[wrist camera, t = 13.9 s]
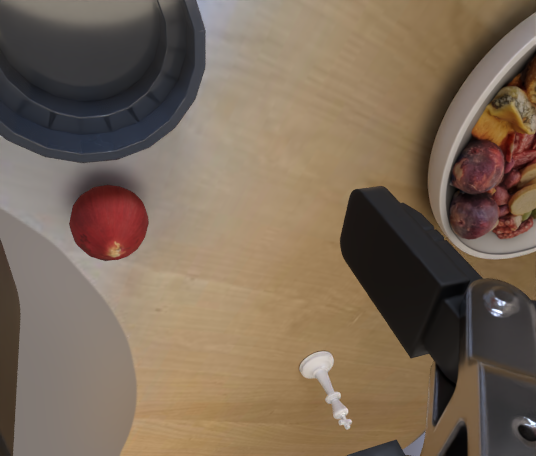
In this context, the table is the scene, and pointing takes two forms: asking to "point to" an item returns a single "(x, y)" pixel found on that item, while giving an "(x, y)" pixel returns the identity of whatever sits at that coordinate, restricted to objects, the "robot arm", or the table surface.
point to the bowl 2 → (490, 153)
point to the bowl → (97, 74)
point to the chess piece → (325, 382)
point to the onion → (108, 222)
